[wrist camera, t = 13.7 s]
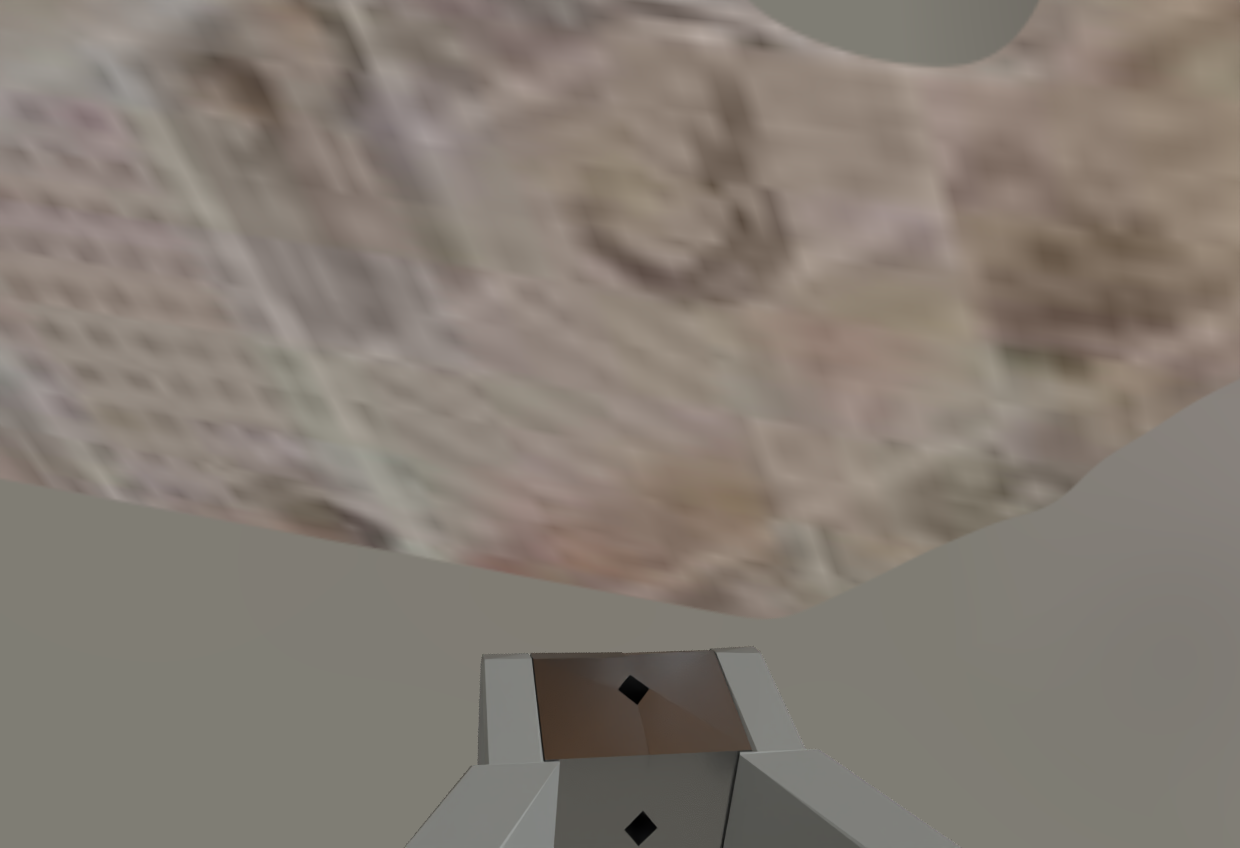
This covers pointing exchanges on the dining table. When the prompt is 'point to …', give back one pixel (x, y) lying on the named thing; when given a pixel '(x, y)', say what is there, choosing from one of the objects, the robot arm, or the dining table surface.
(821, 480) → the dining table surface
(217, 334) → the dining table surface
